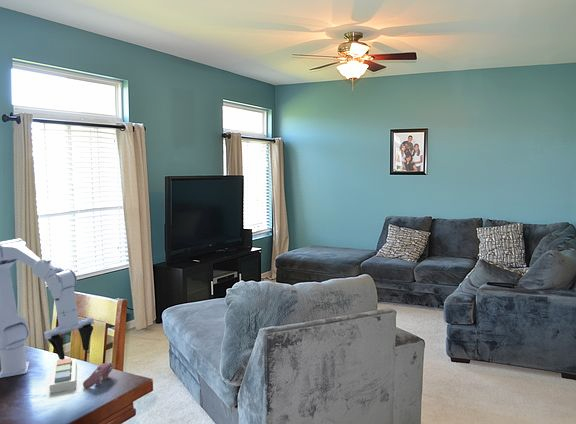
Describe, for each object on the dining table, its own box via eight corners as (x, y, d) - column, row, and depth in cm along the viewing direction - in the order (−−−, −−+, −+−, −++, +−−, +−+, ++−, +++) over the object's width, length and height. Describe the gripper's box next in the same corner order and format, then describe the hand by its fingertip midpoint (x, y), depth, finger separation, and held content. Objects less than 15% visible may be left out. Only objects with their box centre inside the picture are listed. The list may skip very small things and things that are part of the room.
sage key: (57, 372, 158) (56, 366, 157) (70, 369, 159) (70, 364, 159) (56, 377, 154) (56, 371, 154) (70, 374, 155) (70, 368, 155)
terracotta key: (58, 365, 163) (57, 359, 162) (71, 363, 164) (70, 357, 164) (57, 370, 159) (56, 364, 159) (71, 368, 160) (70, 362, 160)
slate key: (56, 379, 153) (55, 373, 152) (70, 376, 154) (69, 370, 154) (55, 384, 149) (55, 378, 149) (70, 382, 150) (69, 375, 150)
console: (53, 369, 164) (53, 362, 163) (76, 365, 166) (76, 358, 166) (50, 393, 147) (49, 385, 147) (75, 388, 150) (75, 380, 149)
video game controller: (93, 394, 149) (101, 375, 148) (80, 387, 150) (88, 368, 148) (111, 379, 159) (118, 361, 157) (99, 372, 159) (106, 354, 158)
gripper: (49, 319, 141) (56, 365, 142) (96, 304, 152) (103, 347, 153) (38, 317, 146) (45, 361, 146) (84, 303, 157) (91, 345, 158)
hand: (74, 354), depth 150 cm, fingers open, 7 cm apart
